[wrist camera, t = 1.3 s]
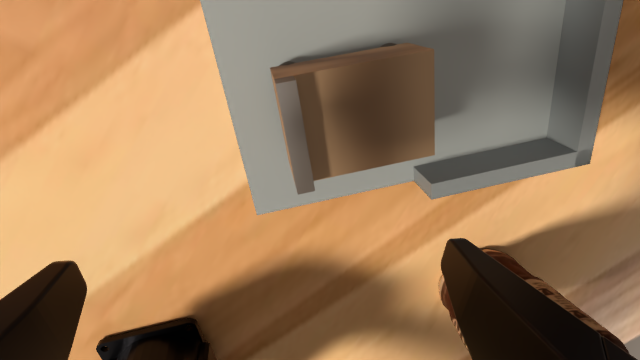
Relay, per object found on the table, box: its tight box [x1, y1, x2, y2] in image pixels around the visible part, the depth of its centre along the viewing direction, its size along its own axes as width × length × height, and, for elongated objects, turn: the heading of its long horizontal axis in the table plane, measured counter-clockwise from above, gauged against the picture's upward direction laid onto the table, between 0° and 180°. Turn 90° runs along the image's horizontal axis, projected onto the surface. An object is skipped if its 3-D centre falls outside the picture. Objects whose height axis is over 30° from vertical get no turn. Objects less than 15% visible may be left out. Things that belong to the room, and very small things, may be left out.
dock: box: [200, 0, 623, 215], centre depth 20 cm, size 20×12×3 cm, turn 99°
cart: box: [270, 43, 435, 195], centre depth 18 cm, size 7×5×5 cm
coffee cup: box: [439, 249, 629, 354], centre depth 23 cm, size 9×8×13 cm
